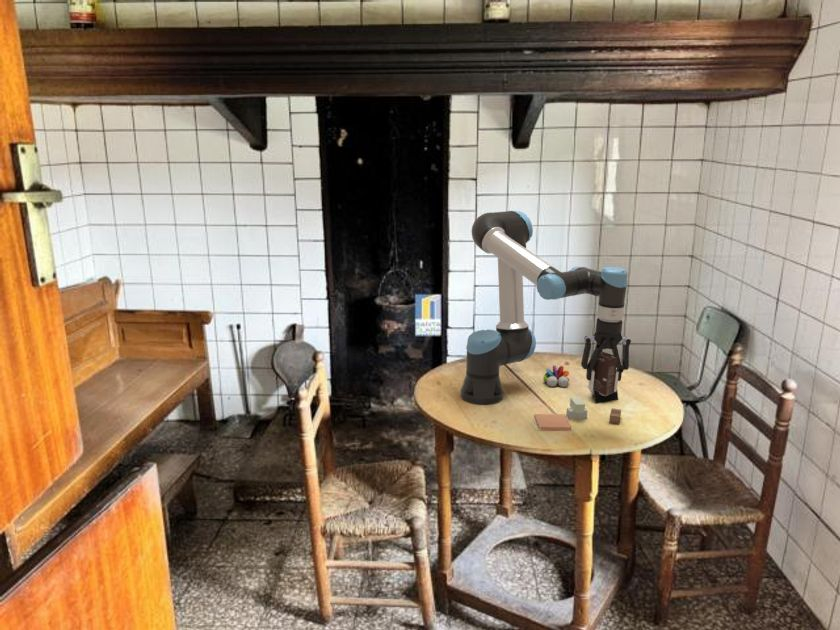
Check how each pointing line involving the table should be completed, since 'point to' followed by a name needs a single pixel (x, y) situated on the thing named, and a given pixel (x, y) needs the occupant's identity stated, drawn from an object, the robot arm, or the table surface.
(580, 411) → the pale green brick
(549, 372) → the rainbow disc rolling toy
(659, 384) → the table surface
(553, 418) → the tile
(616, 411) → the walnut brick
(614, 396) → the decorative object
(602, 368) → the box
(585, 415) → the grey brick
